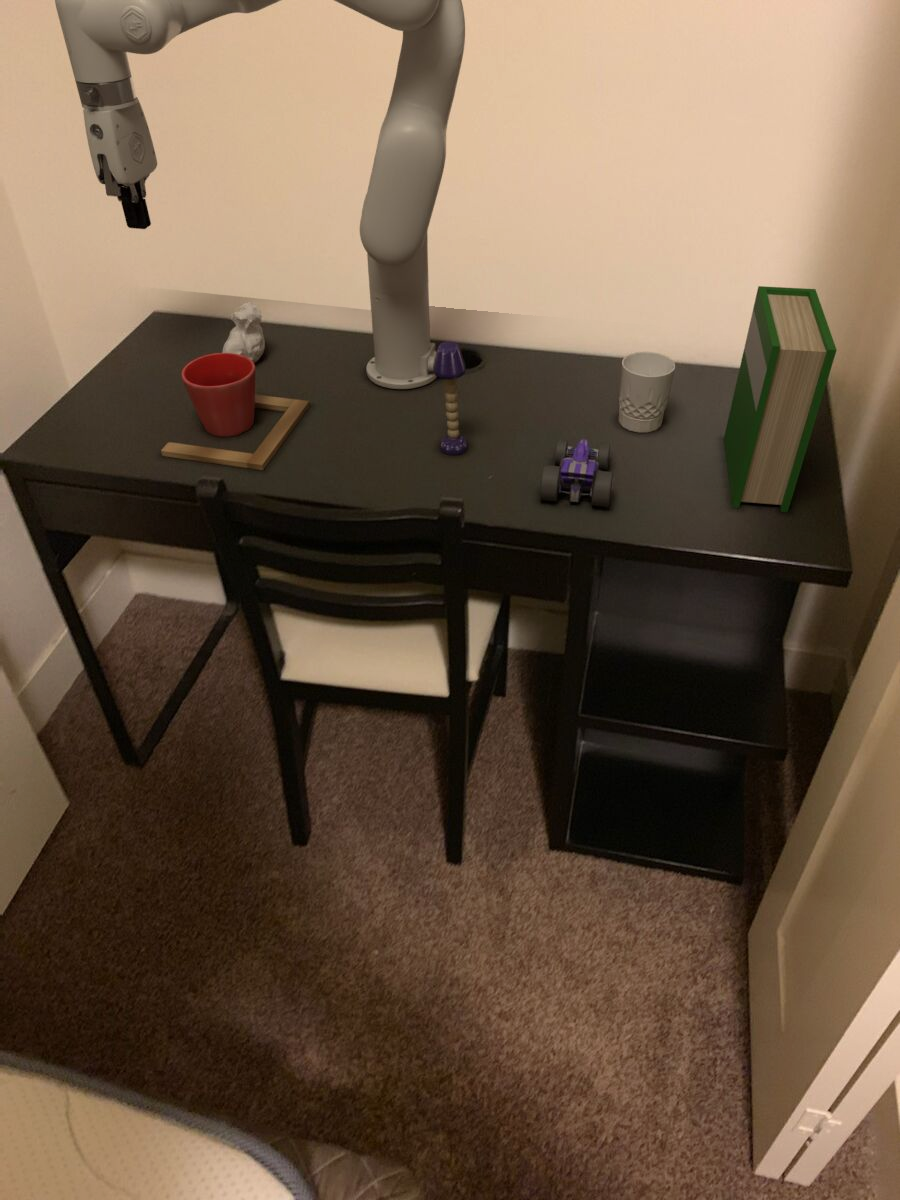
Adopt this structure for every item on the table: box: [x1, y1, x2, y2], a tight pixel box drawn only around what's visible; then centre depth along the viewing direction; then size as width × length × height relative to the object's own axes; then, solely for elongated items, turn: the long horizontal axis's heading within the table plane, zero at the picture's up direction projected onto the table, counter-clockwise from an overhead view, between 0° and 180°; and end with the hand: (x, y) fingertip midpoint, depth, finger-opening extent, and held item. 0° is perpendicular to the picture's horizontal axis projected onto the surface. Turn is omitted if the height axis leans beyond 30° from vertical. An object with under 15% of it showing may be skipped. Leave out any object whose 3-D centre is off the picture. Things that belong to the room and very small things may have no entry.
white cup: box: [618, 351, 676, 434], centre depth 137 cm, size 8×8×10 cm
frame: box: [160, 393, 311, 471], centre depth 140 cm, size 16×19×1 cm
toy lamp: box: [434, 341, 469, 456], centre depth 130 cm, size 5×5×17 cm
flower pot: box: [181, 352, 256, 438], centre depth 138 cm, size 11×11×10 cm
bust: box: [221, 301, 266, 364], centre depth 154 cm, size 12×8×11 cm
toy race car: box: [539, 438, 614, 508], centre depth 126 cm, size 10×15×6 cm, turn 168°
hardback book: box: [723, 285, 838, 513], centre depth 121 cm, size 18×7×24 cm, turn 171°
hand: (139, 226), depth 137 cm, fingers closed
